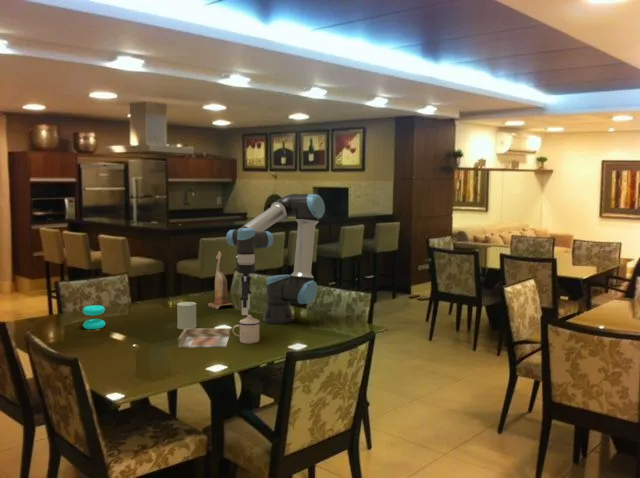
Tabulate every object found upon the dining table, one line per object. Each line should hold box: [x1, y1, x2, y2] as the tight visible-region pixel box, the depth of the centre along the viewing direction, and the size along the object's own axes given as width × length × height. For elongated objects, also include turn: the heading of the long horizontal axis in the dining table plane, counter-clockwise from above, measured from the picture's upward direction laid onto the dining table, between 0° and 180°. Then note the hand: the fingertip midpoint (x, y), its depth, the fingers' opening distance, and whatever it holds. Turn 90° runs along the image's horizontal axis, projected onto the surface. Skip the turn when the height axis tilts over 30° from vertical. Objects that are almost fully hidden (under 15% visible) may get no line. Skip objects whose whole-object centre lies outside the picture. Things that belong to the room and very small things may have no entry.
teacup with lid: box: [231, 314, 261, 345], centre depth 266 cm, size 12×9×12 cm
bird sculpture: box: [207, 250, 236, 310], centre depth 338 cm, size 11×12×32 cm
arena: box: [177, 327, 230, 349], centre depth 264 cm, size 20×17×4 cm
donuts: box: [82, 304, 106, 330], centre depth 289 cm, size 10×10×10 cm
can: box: [176, 301, 197, 330], centre depth 291 cm, size 9×9×12 cm
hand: (245, 311), depth 265 cm, fingers open, 13 cm apart
